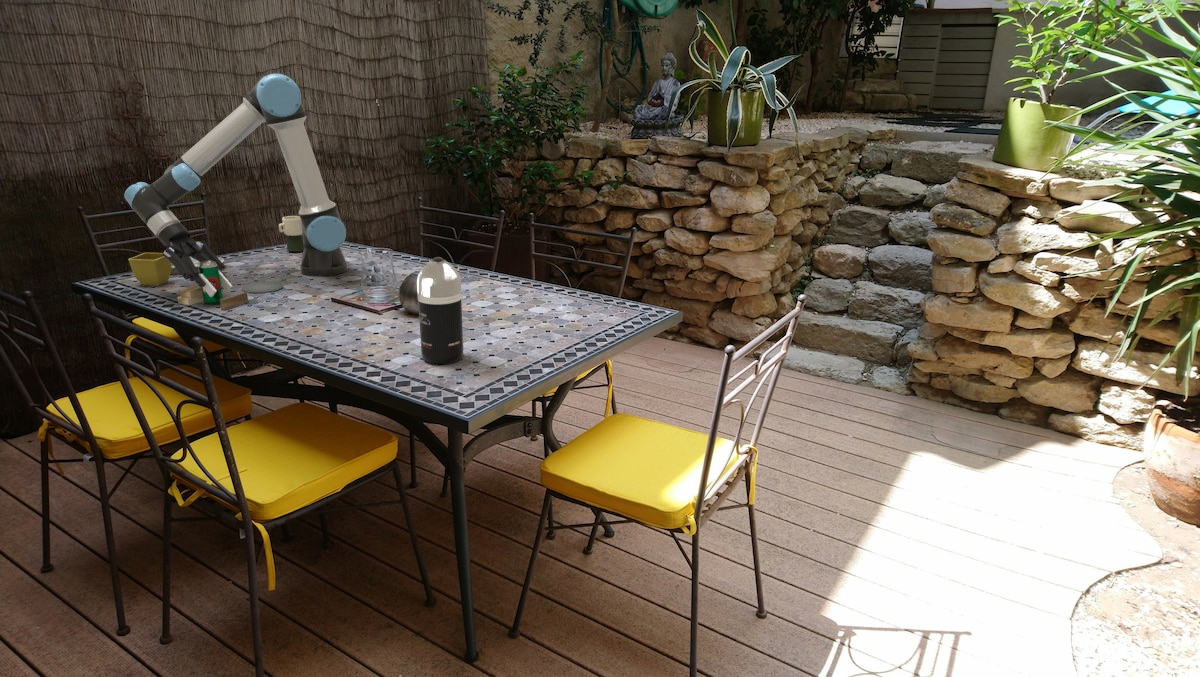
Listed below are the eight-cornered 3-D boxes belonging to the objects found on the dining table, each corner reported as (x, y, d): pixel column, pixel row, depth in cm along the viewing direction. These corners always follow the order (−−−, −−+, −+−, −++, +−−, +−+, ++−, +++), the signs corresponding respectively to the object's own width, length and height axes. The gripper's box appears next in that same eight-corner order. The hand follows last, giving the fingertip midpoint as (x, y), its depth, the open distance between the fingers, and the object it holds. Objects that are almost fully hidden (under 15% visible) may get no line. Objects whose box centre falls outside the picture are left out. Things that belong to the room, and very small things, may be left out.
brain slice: (219, 261, 263) (218, 253, 262) (228, 271, 250) (227, 263, 249) (156, 268, 252) (155, 259, 251) (163, 279, 239) (161, 270, 238)
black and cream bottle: (438, 369, 171) (432, 264, 163) (412, 358, 177) (406, 256, 169) (473, 358, 178) (469, 257, 170) (447, 347, 184) (442, 250, 176)
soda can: (227, 301, 217) (221, 261, 213) (213, 305, 212) (207, 265, 208) (213, 299, 218) (207, 259, 214) (200, 303, 214) (193, 263, 210)
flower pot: (160, 288, 228) (155, 259, 225) (132, 287, 228) (127, 258, 225) (176, 280, 236) (171, 253, 233) (149, 279, 237) (144, 252, 234)
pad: (287, 282, 237) (287, 280, 237) (278, 292, 226) (278, 291, 226) (247, 283, 235) (247, 281, 235) (237, 293, 224) (236, 291, 224)
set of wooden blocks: (177, 303, 213) (175, 290, 212) (205, 294, 222) (203, 282, 221) (222, 310, 208) (220, 297, 207) (249, 301, 217) (247, 288, 216)
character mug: (305, 247, 285) (301, 214, 281) (314, 251, 280) (310, 217, 276) (277, 251, 278) (273, 217, 273) (286, 255, 273) (282, 220, 269)
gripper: (189, 232, 222) (240, 291, 222) (136, 244, 206) (190, 307, 206) (200, 216, 219) (251, 276, 219) (146, 227, 203) (201, 291, 203)
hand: (221, 291), depth 213 cm, fingers closed on soda can, 5 cm apart
